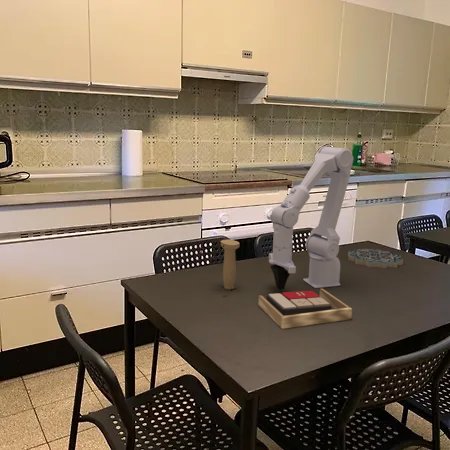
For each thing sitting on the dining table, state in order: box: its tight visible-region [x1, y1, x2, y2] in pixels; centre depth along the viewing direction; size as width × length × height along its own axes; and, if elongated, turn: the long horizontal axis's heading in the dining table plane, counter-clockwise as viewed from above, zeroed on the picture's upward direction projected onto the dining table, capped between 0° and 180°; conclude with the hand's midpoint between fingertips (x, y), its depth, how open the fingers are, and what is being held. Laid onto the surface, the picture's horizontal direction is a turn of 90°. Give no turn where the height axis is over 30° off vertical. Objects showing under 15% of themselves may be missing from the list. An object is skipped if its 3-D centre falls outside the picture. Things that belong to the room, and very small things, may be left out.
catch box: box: [258, 287, 353, 330], centre depth 127 cm, size 21×16×3 cm
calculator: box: [265, 290, 332, 316], centre depth 128 cm, size 11×4×15 cm
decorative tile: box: [347, 247, 404, 269], centre depth 176 cm, size 20×20×2 cm
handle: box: [220, 239, 240, 291], centre depth 142 cm, size 5×6×15 cm
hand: (280, 288), depth 141 cm, fingers closed
